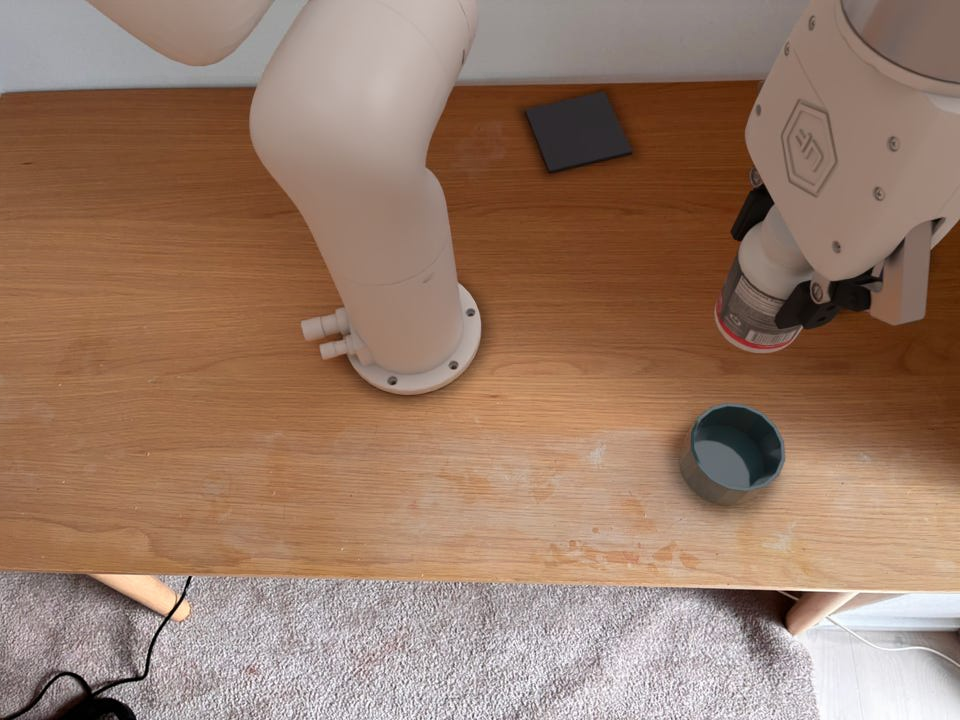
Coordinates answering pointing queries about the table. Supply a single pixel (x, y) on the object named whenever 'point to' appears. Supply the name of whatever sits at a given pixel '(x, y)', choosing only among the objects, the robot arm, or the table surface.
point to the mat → (577, 132)
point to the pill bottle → (761, 287)
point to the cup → (731, 454)
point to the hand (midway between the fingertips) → (778, 273)
